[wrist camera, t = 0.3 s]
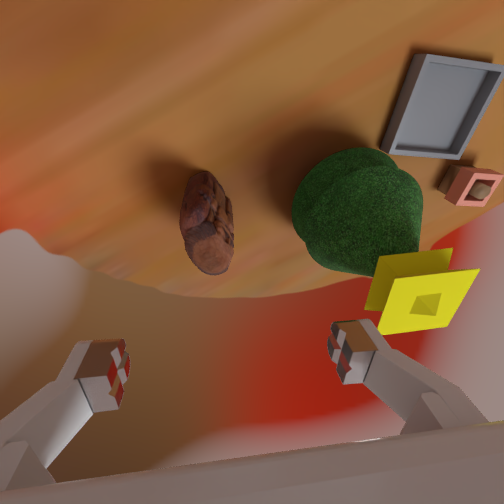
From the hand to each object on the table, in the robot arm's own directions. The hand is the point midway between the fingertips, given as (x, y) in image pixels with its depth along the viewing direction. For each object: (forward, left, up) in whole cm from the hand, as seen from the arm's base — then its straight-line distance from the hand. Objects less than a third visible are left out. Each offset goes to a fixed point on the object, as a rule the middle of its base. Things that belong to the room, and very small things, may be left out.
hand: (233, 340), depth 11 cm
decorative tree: (+9, +22, -40) cm, 47 cm away
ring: (+5, +46, -37) cm, 59 cm away
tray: (-6, +35, -40) cm, 53 cm away
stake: (+5, +46, -40) cm, 61 cm away
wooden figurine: (+12, -1, -40) cm, 42 cm away
